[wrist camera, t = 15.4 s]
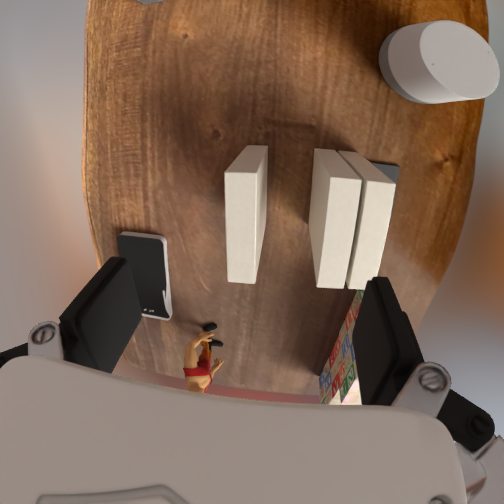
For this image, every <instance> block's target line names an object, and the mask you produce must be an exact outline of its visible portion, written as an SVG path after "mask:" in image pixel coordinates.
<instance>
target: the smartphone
mask: <svg viewBox="0 0 504 504" xmlns="http://www.w3.org/2000/svg"><path fill="white" fill-rule="evenodd" d="M117 242H118V249H119V256H120V257H122V258H125V259H126V260H127V262H129V263H130V266H131V271H132V275H133V279H134V284H135V288H136V292H137V296H138V300H139V303H140V307H141V311H142V316H146V317H151V318H156V319H161V320H169V319H170V318H171V316H172V314H173V312H172V303H171V293H170V282H169V270H168V257H167V241H166V239H165V237H164V236H162V235H155V234H146V233H136V232H127V231H123V232H122V233H121V234H120V235H119V236H118V237H117Z"/></svg>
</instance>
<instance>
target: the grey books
mask: <svg viewBox="0 0 504 504" xmlns="http://www.w3.org/2000/svg"><path fill="white" fill-rule="evenodd" d="M136 1H138V2H140V3H142V4H144V5H148V4H153V3H158V2H162V1H163V0H136Z"/></svg>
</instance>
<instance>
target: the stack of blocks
mask: <svg viewBox="0 0 504 504" xmlns="http://www.w3.org/2000/svg"><path fill="white" fill-rule="evenodd" d="M364 291H365V290H361V289H358V290H357V292H356V295H355V297H354V300H353V302H352V305H351V306H350V308H349V311H348V313H347V316H346V318H345V321H344V323H343V325H342V327H341V330H340V332H339V336H338V339H337V341H336V343H335V345H334V348H333V350H332V352H331V355H330V357H329V358H328V360H327V362H326V364H325V366H324V369H323V371H322V373H321V375H320V377H319V383H320V403H321V404H330V405H362V404H361V396H360V389H359V381H358V374H357V368H356V361H355V355H354V349H353V343H352V332H353V329H354V325H355V322H356V319H357V315H358V312H359V309H360V305H361V301H362V298H363V294H364Z"/></svg>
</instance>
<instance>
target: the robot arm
mask: <svg viewBox="0 0 504 504" xmlns="http://www.w3.org/2000/svg"><path fill="white" fill-rule="evenodd" d="M141 318H142V311H141V307H140V303H139V300H138V296H137V292H136V288H135V284H134V279H133V275H132V271H131V266H130V263H129V262H127V260H126V259H125V258H122V257H111V258H110V259H109V260H108V261H107V262H106V263H105V264H104V265H103V266H102V268H101V269H100V270H99V271H98V272H97V273H96V274H95V275H94V277H93V278H92V279H91V280H90V281H89V282H88V283H87V285H86V286H85V287H84V288H83V289H82V290H81V292H80V293H79V294H78V295H77V296H76V297H75V299H74V300H73V301H72V302H71V304H70V305H69V306H68V307H67V308H66V310H65V311H64V312H63V313H62V315H61V316H60V317H59V319H60V324H59V325H58V324H57V323H55V322H52V321H46V322H42V323H40V324H38V325H36V326H35V327H34V328H33V329H32V330H31V332H30V333H29V336H28V343H25V344H22V345H20V346H18V347H14V348H12V349H9V350H7V351H4V352H1V353H0V504H504V439H503V438H502V437H501V436H500V435H499V436H498V437H496V436H495V434H494V431H495V426H494V422H493V419H492V418H491V417H490V415H489V414H488V413H486V411H484V410H482V409H481V408H479V407H478V406H476V405H475V404H473V403H472V402H470V401H468V400H467V399H465V398H464V397H462V396H461V395H459V394H457V393H456V392H454V391H453V390H451V389H450V387H451V377H450V375H449V373H448V372H447V370H446V369H445V368H444V367H442V366H441V365H439V364H437V363H434V362H424V359H423V356H422V354H421V351H420V348H419V345H418V343H417V340H416V337H415V334H414V331H413V329H412V326H411V324H410V321H409V319H408V316H407V314H406V313H405V312H404V311H402V310H401V308H400V305H399V303H398V300H397V298H396V295H395V293H394V290H393V288H392V286H391V283H390V281H389V279H388V278H387V277H375V276H374V277H373V278H372V280H368V281H367V283H366V287H365V291H364V294H363V298H362V301H361V305H360V309H359V312H358V315H357V319H356V322H355V325H354V329H353V332H352V343H353V349H354V355H355V361H356V368H357V374H358V381H359V389H360V396H361V404H362V405H330V404H302V403H284V402H272V401H261V400H251V399H242V398H233V397H226V396H218V395H211V394H205V393H199V392H193V391H187V390H181V389H175V388H171V387H165V386H160V385H156V384H151V383H147V382H142V381H138V380H133V379H130V378H125V377H122V376H118V375H114V374H111V373H112V371H113V369H114V368H115V366H116V364H117V362H118V360H119V358H120V356H121V355H122V353H123V351H124V349H125V347H126V345H127V344H128V342H129V340H130V338H131V336H132V335H133V333H134V331H135V329H136V328H137V326H138V324H139V322H140V320H141Z"/></svg>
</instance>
